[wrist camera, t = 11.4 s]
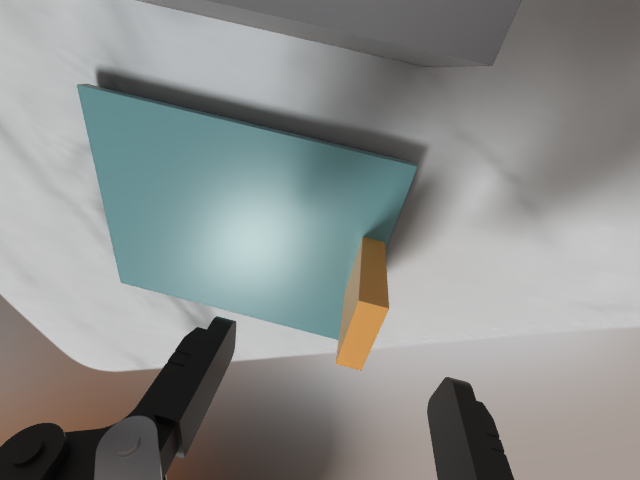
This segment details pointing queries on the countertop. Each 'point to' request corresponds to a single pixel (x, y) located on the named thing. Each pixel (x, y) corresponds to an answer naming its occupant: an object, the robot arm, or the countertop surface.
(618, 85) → the countertop surface
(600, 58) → the countertop surface
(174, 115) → the lid
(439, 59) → the tub
